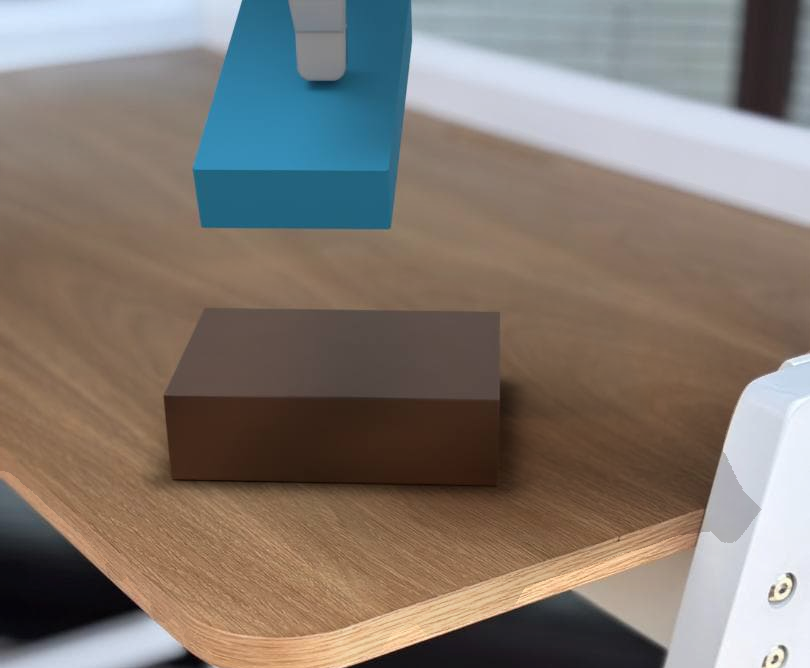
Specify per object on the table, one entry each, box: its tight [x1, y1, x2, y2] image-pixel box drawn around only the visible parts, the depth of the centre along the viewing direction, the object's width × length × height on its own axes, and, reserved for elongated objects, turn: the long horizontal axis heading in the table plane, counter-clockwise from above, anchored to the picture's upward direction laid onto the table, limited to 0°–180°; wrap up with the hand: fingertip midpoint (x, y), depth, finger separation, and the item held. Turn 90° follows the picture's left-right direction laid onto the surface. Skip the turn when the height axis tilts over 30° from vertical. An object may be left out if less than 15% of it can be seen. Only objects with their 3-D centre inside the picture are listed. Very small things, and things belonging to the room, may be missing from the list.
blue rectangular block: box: [191, 0, 413, 230], centre depth 61 cm, size 7×7×18 cm
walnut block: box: [162, 307, 501, 486], centre depth 67 cm, size 14×10×4 cm
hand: (334, 52), depth 60 cm, fingers closed on blue rectangular block, 7 cm apart
